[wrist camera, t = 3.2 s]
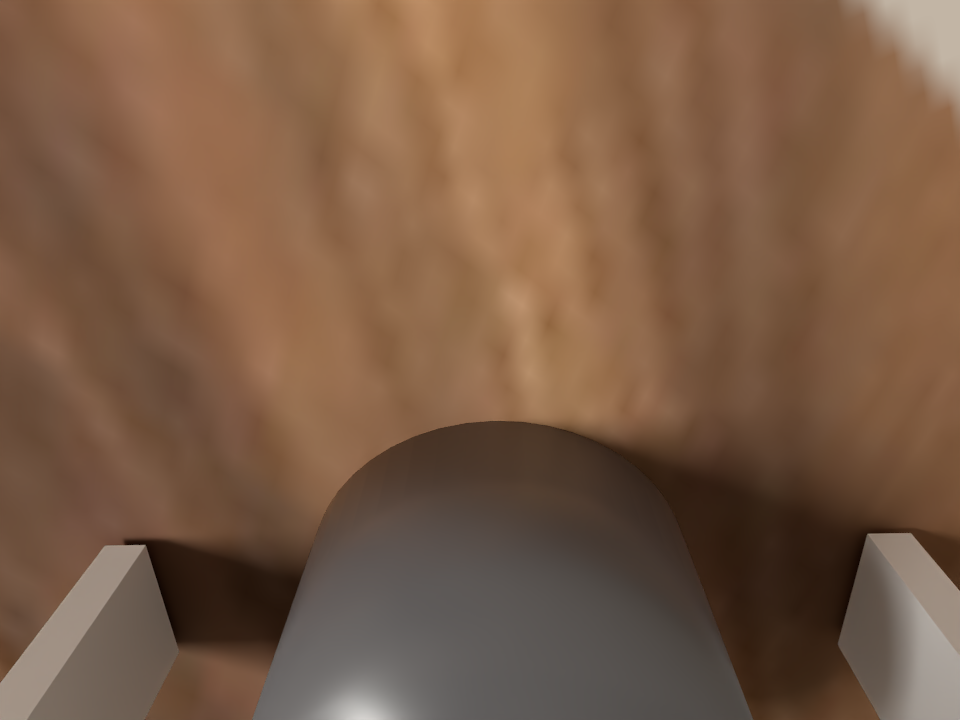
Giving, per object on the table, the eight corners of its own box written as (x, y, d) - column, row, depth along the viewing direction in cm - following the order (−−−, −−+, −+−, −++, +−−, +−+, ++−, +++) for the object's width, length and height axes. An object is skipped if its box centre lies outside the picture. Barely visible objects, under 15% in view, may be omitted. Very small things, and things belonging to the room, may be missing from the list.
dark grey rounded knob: (286, 423, 11) (140, 704, 7) (704, 414, 11) (862, 695, 6) (338, 704, 14) (263, 1034, 10) (667, 701, 14) (756, 1037, 10)
